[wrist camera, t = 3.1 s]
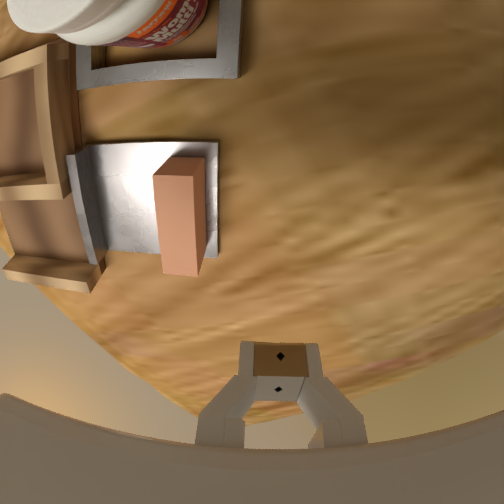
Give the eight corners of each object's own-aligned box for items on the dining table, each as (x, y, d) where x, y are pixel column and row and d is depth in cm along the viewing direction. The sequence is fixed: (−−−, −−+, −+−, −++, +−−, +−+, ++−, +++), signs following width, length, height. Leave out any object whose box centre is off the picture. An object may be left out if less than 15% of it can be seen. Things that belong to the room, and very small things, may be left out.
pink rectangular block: (204, 157, 19) (193, 176, 16) (206, 247, 23) (197, 276, 20) (169, 156, 19) (152, 175, 16) (175, 245, 23) (163, 273, 20)
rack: (76, 36, 15) (47, 36, 12) (106, 268, 26) (90, 293, 23) (-15, 70, 15) (-42, 77, 12) (23, 258, 26) (6, 278, 23)
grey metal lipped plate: (218, 140, 19) (211, 151, 17) (218, 254, 24) (213, 275, 22) (85, 144, 19) (65, 155, 17) (103, 245, 24) (89, 263, 22)
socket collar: (249, -62, 11) (246, -74, 9) (240, 77, 17) (237, 78, 15) (98, -41, 11) (83, -46, 9) (91, 86, 17) (76, 90, 15)
